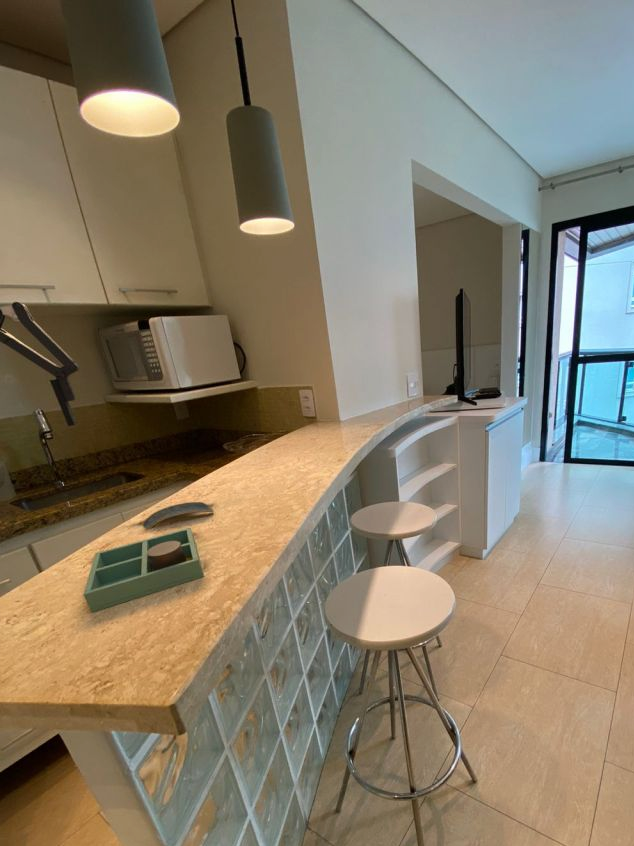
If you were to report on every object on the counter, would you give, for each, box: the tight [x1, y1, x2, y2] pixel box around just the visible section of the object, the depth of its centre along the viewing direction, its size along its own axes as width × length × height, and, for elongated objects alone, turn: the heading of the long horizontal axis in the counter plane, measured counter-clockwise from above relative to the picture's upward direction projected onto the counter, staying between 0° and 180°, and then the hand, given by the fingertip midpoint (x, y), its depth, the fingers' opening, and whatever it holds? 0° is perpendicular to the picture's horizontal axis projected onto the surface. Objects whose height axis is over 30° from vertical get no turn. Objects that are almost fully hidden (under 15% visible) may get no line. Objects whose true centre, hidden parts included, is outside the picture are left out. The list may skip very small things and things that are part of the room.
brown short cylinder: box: [147, 541, 187, 571], centre depth 66 cm, size 5×5×4 cm
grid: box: [83, 527, 205, 613], centre depth 67 cm, size 15×15×3 cm
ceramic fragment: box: [142, 501, 215, 530], centre depth 89 cm, size 14×5×4 cm, turn 109°
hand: (17, 433), depth 58 cm, fingers open, 13 cm apart
